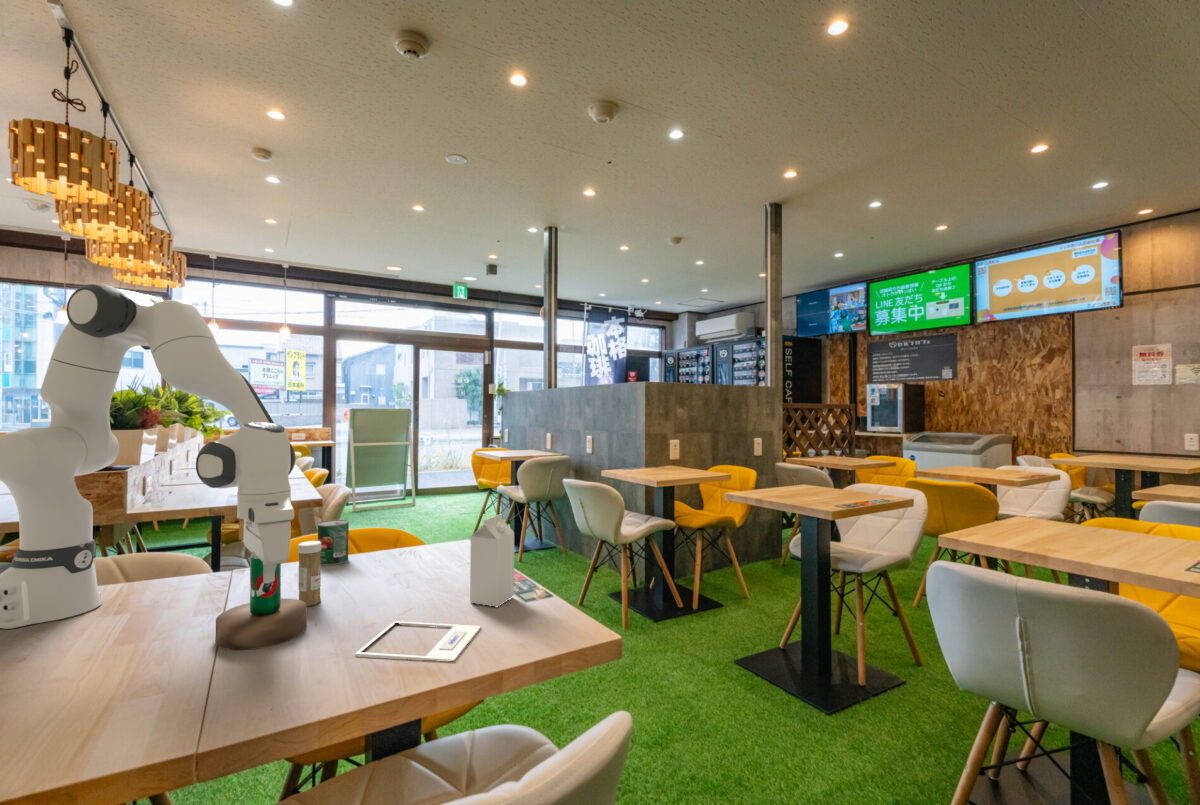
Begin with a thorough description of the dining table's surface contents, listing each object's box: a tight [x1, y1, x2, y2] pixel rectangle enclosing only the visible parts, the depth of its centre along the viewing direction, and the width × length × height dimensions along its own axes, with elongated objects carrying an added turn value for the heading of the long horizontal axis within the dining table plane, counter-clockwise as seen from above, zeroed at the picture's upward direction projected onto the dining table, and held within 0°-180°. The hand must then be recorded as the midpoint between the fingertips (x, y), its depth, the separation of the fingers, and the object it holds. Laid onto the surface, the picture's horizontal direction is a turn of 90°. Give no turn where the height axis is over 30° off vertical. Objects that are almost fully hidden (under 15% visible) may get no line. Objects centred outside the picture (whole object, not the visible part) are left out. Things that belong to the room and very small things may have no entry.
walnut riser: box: [215, 598, 308, 651], centre depth 107 cm, size 15×15×4 cm
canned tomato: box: [317, 519, 350, 566], centre depth 156 cm, size 8×8×11 cm
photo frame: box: [354, 620, 482, 661], centre depth 104 cm, size 15×1×18 cm
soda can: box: [249, 552, 282, 616], centre depth 107 cm, size 5×5×12 cm
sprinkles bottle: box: [297, 540, 322, 607], centre depth 123 cm, size 5×5×14 cm
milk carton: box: [469, 513, 515, 607], centre depth 126 cm, size 7×7×19 cm
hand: (264, 578), depth 107 cm, fingers open, 5 cm apart
